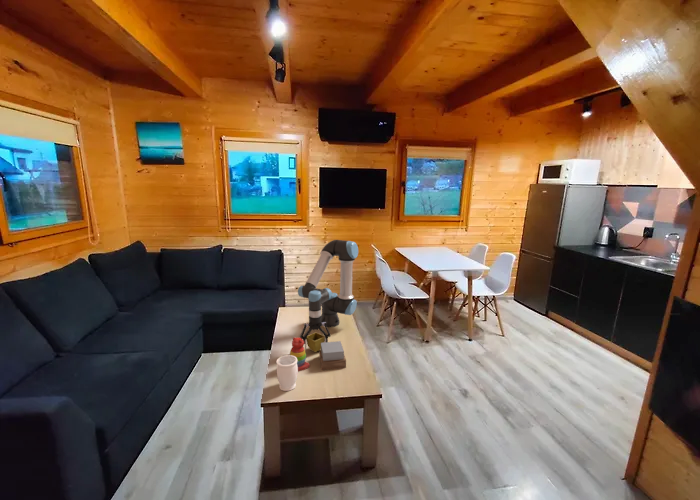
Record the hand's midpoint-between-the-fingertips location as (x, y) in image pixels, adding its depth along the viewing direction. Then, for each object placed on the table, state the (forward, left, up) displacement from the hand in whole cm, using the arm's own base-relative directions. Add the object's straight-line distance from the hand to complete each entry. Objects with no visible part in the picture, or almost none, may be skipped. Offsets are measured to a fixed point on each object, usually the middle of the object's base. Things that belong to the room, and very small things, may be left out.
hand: (315, 347), depth 197 cm
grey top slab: (+14, +9, +2) cm, 17 cm away
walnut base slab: (+15, +9, -3) cm, 17 cm away
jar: (+33, -17, -2) cm, 38 cm away
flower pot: (0, 0, -2) cm, 2 cm away
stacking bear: (+16, -11, -2) cm, 20 cm away
